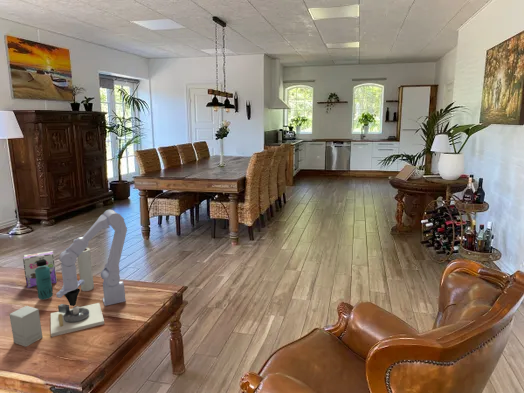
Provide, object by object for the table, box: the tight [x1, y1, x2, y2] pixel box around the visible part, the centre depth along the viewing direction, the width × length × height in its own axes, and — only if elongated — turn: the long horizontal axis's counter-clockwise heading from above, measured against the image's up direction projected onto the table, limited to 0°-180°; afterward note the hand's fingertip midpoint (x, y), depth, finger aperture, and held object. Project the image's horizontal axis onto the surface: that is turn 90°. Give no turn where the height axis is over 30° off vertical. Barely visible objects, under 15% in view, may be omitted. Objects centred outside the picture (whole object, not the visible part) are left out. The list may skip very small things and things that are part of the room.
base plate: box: [50, 302, 105, 338], centre depth 165 cm, size 20×18×6 cm
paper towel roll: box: [77, 247, 95, 292], centre depth 193 cm, size 7×6×21 cm
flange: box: [57, 303, 89, 323], centre depth 165 cm, size 14×10×4 cm
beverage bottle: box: [35, 260, 54, 300], centre depth 182 cm, size 6×7×20 cm
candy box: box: [22, 250, 58, 289], centre depth 199 cm, size 14×6×16 cm, turn 117°
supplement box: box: [9, 305, 43, 348], centre depth 150 cm, size 7×7×13 cm
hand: (73, 305), depth 171 cm, fingers closed
